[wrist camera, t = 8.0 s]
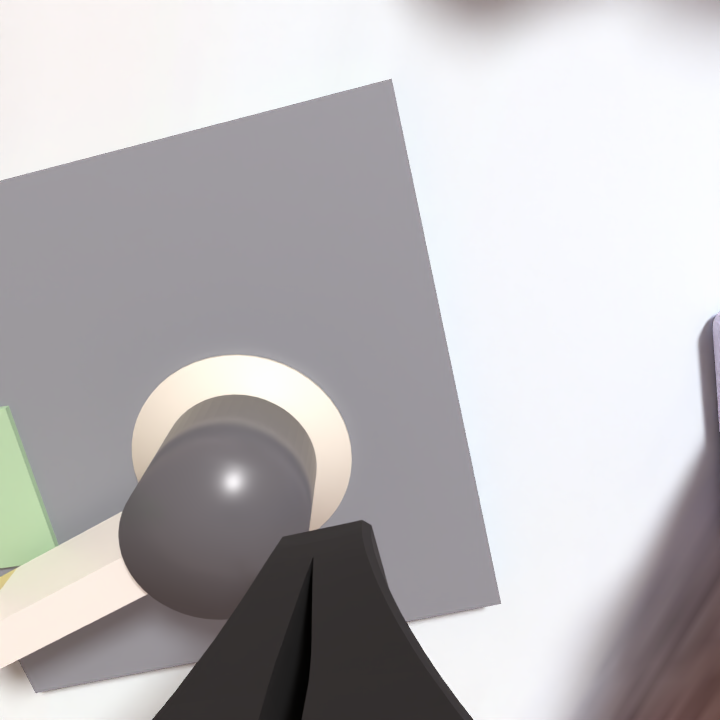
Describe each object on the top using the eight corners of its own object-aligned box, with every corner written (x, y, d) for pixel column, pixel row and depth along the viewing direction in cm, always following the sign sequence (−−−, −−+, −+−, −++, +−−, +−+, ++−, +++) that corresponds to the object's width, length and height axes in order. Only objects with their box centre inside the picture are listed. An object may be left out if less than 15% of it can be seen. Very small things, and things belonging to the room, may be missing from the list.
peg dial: (262, 366, 18) (239, 427, 15) (345, 489, 20) (341, 572, 16) (-38, 534, 20) (-123, 624, 17) (56, 636, 22) (-5, 740, 18)
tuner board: (390, 80, 17) (392, 78, 16) (495, 583, 23) (502, 607, 21) (-177, 228, 19) (-212, 235, 18) (48, 670, 24) (33, 697, 23)
